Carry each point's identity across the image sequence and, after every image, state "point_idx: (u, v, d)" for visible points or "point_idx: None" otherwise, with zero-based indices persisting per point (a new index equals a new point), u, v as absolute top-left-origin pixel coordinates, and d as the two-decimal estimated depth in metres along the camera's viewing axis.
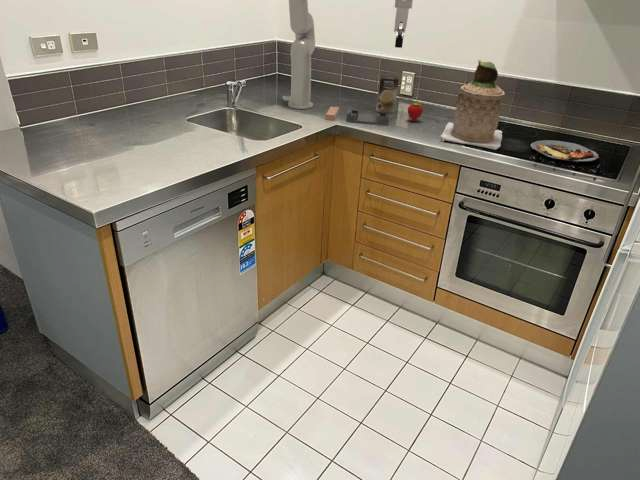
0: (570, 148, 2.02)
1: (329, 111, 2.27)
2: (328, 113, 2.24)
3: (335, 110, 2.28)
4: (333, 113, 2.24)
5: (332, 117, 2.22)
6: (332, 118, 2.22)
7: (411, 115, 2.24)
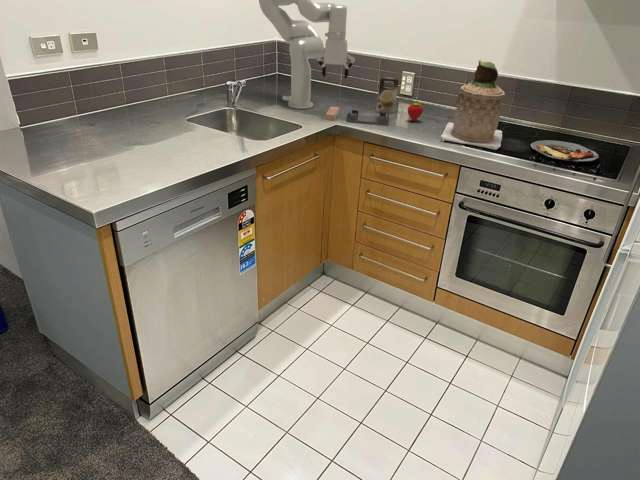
0: (570, 148, 2.02)
1: (329, 111, 2.27)
2: (328, 113, 2.24)
3: (335, 110, 2.28)
4: (333, 113, 2.24)
5: (332, 117, 2.22)
6: (332, 118, 2.22)
7: (411, 115, 2.24)
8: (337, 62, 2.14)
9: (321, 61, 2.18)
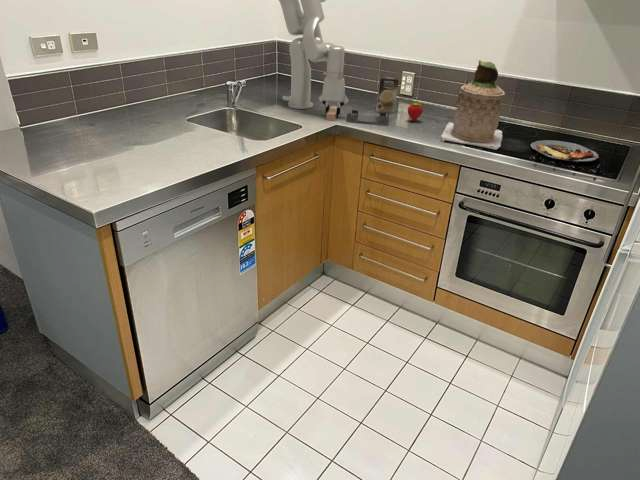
0: (570, 148, 2.02)
1: (330, 110, 2.26)
2: (329, 112, 2.23)
3: (335, 109, 2.28)
4: (334, 112, 2.24)
5: (333, 116, 2.22)
6: (333, 117, 2.22)
7: (411, 115, 2.24)
8: (335, 99, 2.22)
9: (325, 101, 2.26)
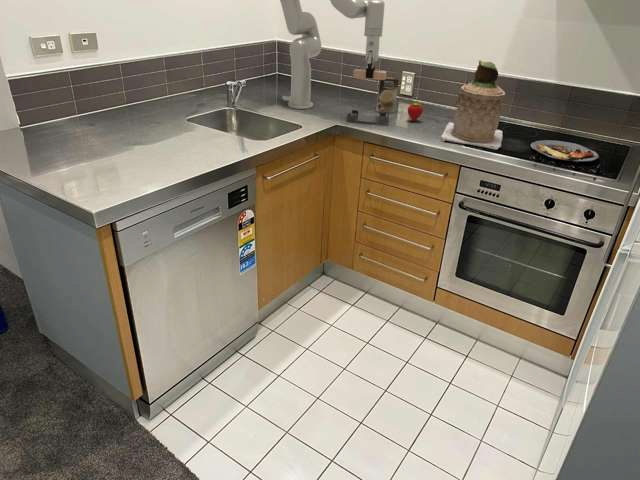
0: (570, 148, 2.02)
1: (373, 71, 2.13)
2: (381, 72, 2.12)
3: None
4: (380, 71, 2.14)
5: None
6: (385, 75, 2.15)
7: (411, 115, 2.24)
8: (378, 57, 2.12)
9: None
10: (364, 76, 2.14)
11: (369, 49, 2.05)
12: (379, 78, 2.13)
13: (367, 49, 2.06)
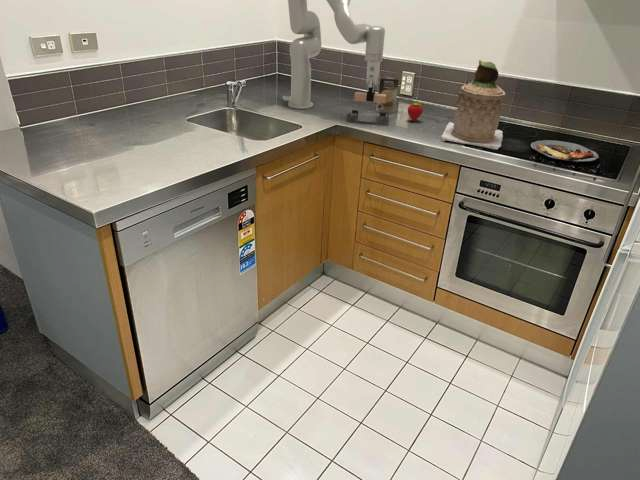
0: (570, 148, 2.02)
1: (374, 95, 2.18)
2: (381, 95, 2.17)
3: None
4: (380, 94, 2.19)
5: None
6: None
7: (411, 115, 2.24)
8: (378, 81, 2.17)
9: None
10: (365, 99, 2.19)
11: (370, 74, 2.10)
12: (379, 101, 2.18)
13: (368, 74, 2.10)
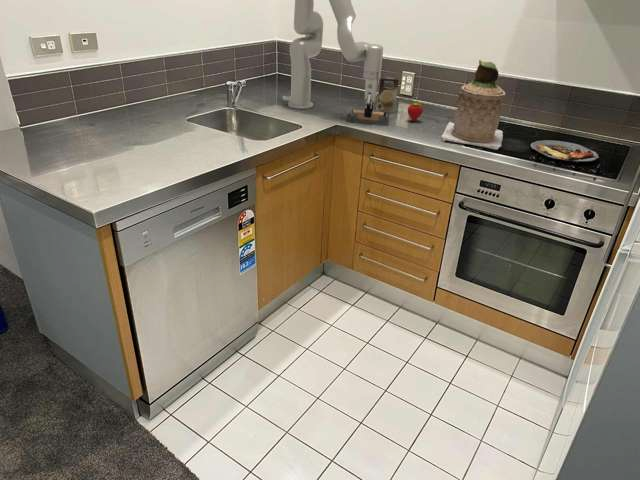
0: (570, 148, 2.02)
1: None
2: (379, 113, 2.22)
3: None
4: (377, 112, 2.24)
5: (383, 115, 2.24)
6: None
7: (411, 115, 2.24)
8: None
9: None
10: (363, 117, 2.23)
11: (368, 91, 2.14)
12: (377, 119, 2.22)
13: (366, 91, 2.14)
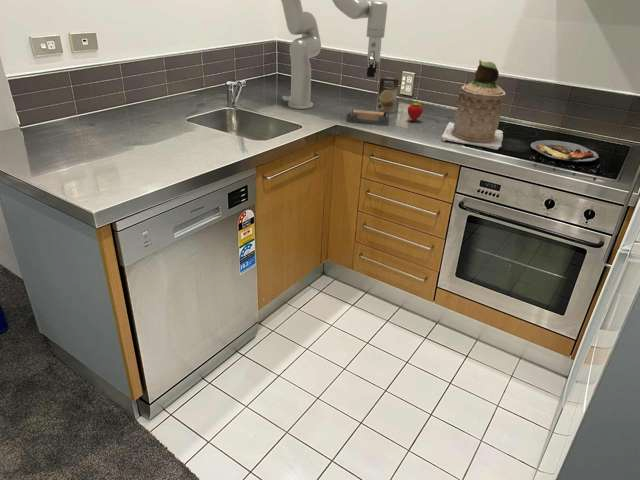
0: (570, 148, 2.02)
1: (371, 113, 2.22)
2: (379, 113, 2.22)
3: (366, 111, 2.24)
4: (377, 112, 2.24)
5: (383, 115, 2.24)
6: None
7: (411, 115, 2.24)
8: (379, 58, 2.13)
9: None
10: (363, 117, 2.23)
11: (371, 50, 2.06)
12: (377, 119, 2.22)
13: (369, 50, 2.06)
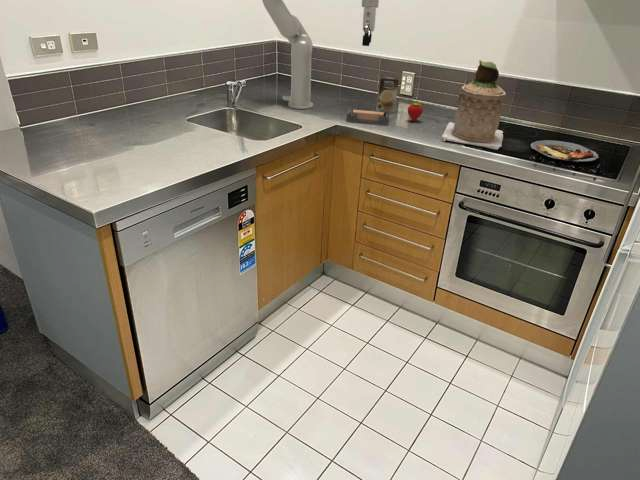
0: (570, 148, 2.02)
1: (371, 113, 2.22)
2: (379, 113, 2.22)
3: (366, 111, 2.24)
4: (377, 112, 2.24)
5: (383, 115, 2.24)
6: None
7: (411, 115, 2.24)
8: (374, 28, 2.24)
9: None
10: (363, 117, 2.23)
11: (366, 19, 2.17)
12: (377, 119, 2.22)
13: (364, 19, 2.17)
